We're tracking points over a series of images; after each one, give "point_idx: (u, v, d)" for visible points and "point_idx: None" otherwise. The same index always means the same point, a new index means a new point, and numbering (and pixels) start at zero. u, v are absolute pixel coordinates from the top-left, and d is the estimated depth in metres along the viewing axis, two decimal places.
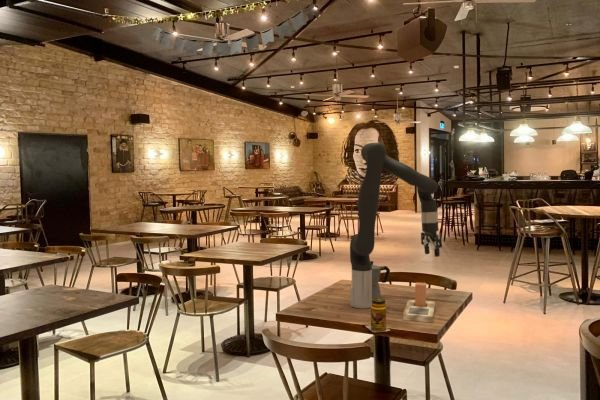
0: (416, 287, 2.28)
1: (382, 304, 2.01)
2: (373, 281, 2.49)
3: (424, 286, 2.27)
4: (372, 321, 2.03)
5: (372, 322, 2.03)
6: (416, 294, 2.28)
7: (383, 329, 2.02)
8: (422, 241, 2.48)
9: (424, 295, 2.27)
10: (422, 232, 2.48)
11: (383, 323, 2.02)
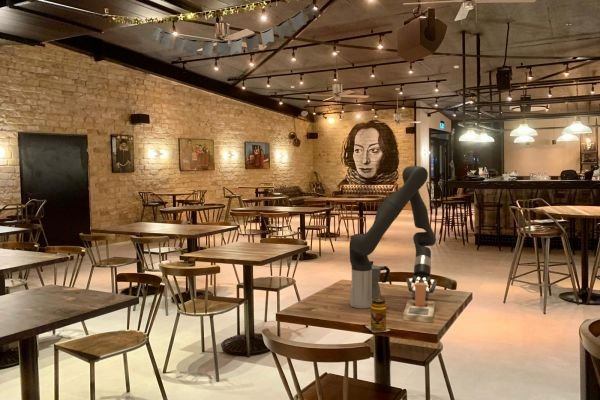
0: (416, 287, 2.28)
1: (382, 304, 2.01)
2: (373, 281, 2.49)
3: (424, 286, 2.27)
4: (372, 321, 2.03)
5: (372, 322, 2.03)
6: (416, 294, 2.28)
7: (383, 329, 2.02)
8: (410, 285, 2.33)
9: (424, 295, 2.27)
10: (407, 278, 2.36)
11: (383, 323, 2.02)
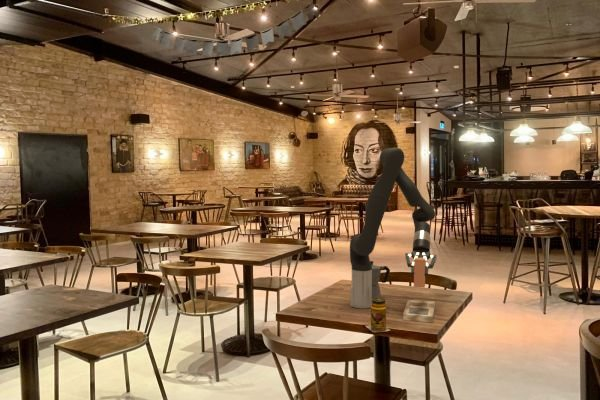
0: (415, 262, 2.21)
1: (382, 304, 2.01)
2: (373, 281, 2.49)
3: (423, 261, 2.20)
4: (372, 321, 2.03)
5: (372, 322, 2.03)
6: (415, 269, 2.21)
7: (383, 329, 2.02)
8: (409, 260, 2.25)
9: (423, 270, 2.20)
10: (406, 253, 2.29)
11: (383, 323, 2.02)
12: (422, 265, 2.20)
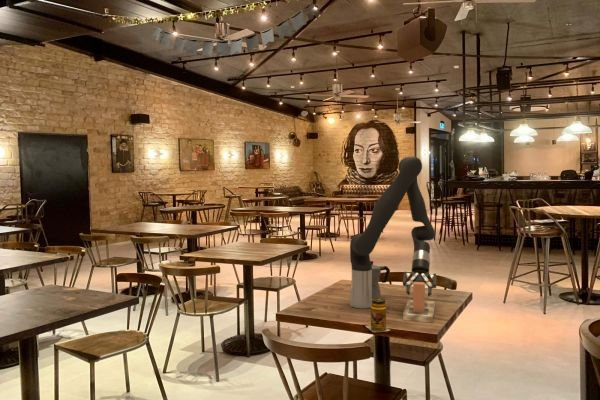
0: (414, 286, 2.18)
1: (382, 304, 2.01)
2: (373, 281, 2.49)
3: (423, 285, 2.17)
4: (372, 321, 2.03)
5: (372, 322, 2.03)
6: (414, 294, 2.18)
7: (383, 329, 2.02)
8: (405, 280, 2.23)
9: (423, 295, 2.17)
10: (405, 272, 2.26)
11: (383, 323, 2.02)
12: (421, 290, 2.17)
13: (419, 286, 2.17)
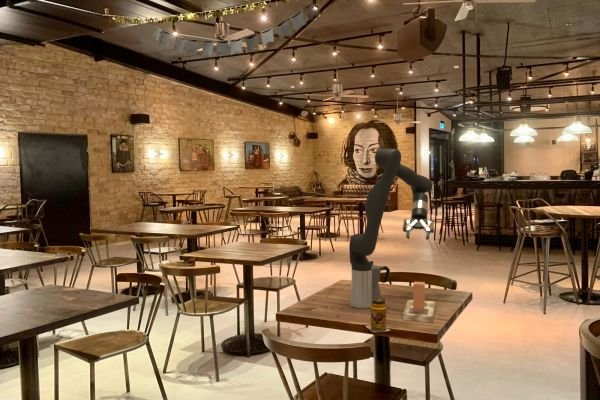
0: (414, 286, 2.18)
1: (382, 304, 2.01)
2: (373, 281, 2.49)
3: (423, 285, 2.17)
4: (372, 321, 2.03)
5: (372, 322, 2.03)
6: (414, 294, 2.18)
7: (383, 329, 2.02)
8: (405, 226, 2.45)
9: (423, 295, 2.17)
10: None
11: (383, 323, 2.02)
12: (421, 290, 2.17)
13: (419, 286, 2.17)
